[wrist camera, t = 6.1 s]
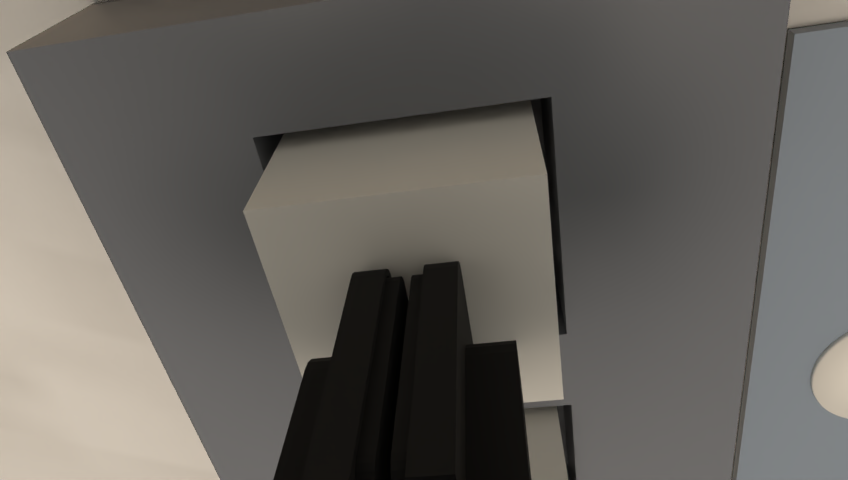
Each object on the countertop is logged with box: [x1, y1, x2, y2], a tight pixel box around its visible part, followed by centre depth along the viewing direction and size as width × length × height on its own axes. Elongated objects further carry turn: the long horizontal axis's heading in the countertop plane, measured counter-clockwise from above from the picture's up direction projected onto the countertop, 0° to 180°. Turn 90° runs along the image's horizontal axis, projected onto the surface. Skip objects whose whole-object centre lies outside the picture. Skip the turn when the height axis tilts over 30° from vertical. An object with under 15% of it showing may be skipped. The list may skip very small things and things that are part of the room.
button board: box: [7, 0, 790, 480], centre depth 17 cm, size 23×12×3 cm, turn 9°
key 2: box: [243, 100, 564, 403], centre depth 12 cm, size 4×4×3 cm
